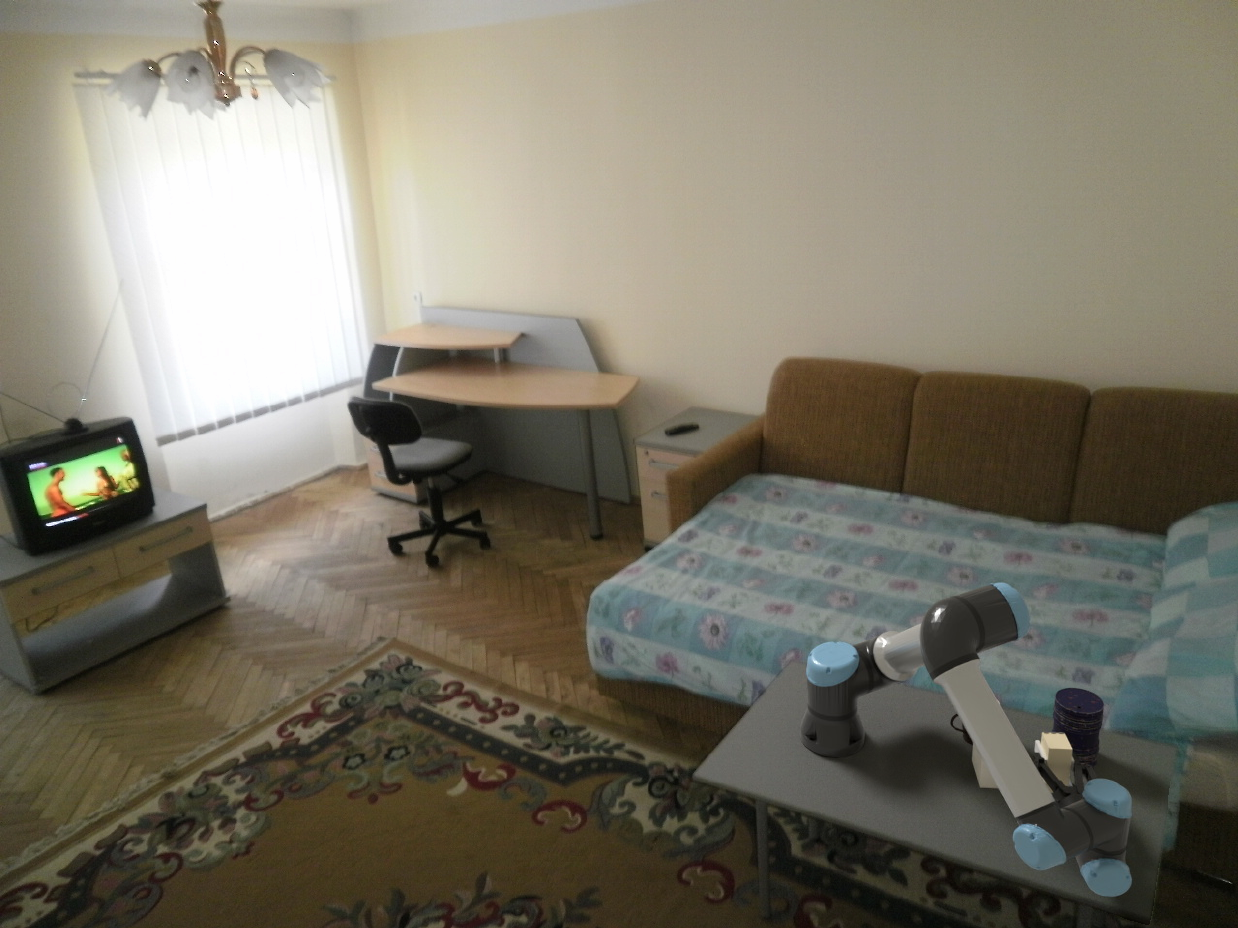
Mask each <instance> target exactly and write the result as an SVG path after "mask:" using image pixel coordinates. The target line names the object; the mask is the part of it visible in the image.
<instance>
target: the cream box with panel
mask: <svg viewBox="0 0 1238 928" xmlns="http://www.w3.org/2000/svg"><path fill="white" fill-rule="evenodd" d="M971 755H972V756H971V762H972V765H973V768H974V772H975V775H976V778H977V782H978V785H979V788H985V789H986V788H987V789H988V788H989V789H999V788H998V786H997V784H996V783H995V781H994V779H993V777H992V775H991V774H990V772H989V770H988V768H987V766H986V765H985V763H984V761H983V759H982V757H981V756H980V754H979V752H978V750H977V748H976V747H975V745H974V743H973V745H972V753H971Z"/></svg>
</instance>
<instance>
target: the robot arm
mask: <svg viewBox="0 0 1238 928" xmlns="http://www.w3.org/2000/svg"><path fill="white" fill-rule="evenodd" d="M1030 627H1031V614H1030V609H1029V608H1028V604H1027V603H1026V600H1025V599H1024V597H1023V596H1022V594H1020V592H1019V591H1018V590H1017V588H1014V587H1013V586H1012V585H1010V584H1008V583H1006V582H996V583H992V582H991V583H989V584H988V585H984V586H981V587H978V588H975V589H971V590H969V591H966V592H963V593H960V594H956V595H953V596H950V597H945V598H942V599H940V600H938V601H936V602H935V603H934V604H931V606H930V607H929V608H928V609H927V610H926V612H925V613H924V615H923V618H922V620H921V622H920V623H918V624H916V625H914V626H912V627H910V628H908V629H905V630H903V631H901V632H900V631H897V630H895V631H894V630H890V631H885V632H883V633H880V634H879V635H877V636H875V637H872V638H869V639H867V640H864V641H861V642H857V643H855V644H850V643H848V642H844V641H837V642H835V641H827V642H824V643H821V644H819V645H817V646H815V647H814V648H813V649H812V650H811V651H810V653H809V654H808V656H807V665H806V669H805V673H806V708H805V712H804V715H803V717H802V719H801V722H800V724H799V737H800V741H801V743H802V744H803V745H804V746H805V747H806V749H808V750H809V751H811V752H813V753H816V754H818V755H820V756H821V755H822V756H825V757H834V758H838V757H839V758H841V757H847V756H850V755H853V754H856V753H857V752H859V751H860V750H861V749H862V748H863V747H864V746H863V745H864V744H865V737H866V736H865V729H864V725H863V722H862V720H861V717H860V714H859V711H858V699H859V698H860V697H863V696H866V695H869V694H871V693H874V692H878V691H880V690H883V689H886V688H889V687H892V686H894V685H901V684H902V683H903V684H904V683H906V682H907V681H909V680H911V679H913V677H914V676H915V675H916V674H917V672H918V671H919V668H922V667H925V668H926V670H927V673H928V675H929V676H930V678H931V681H932V682H933V683H934V684H936V685H938V686H940V687H942V690H944V693H945V695H946V696H947V698H948V700H949V701H950V703H951V706H952V707H953V708H954V711H955V713H956V714H958V716H957V717H958V718H959V719H960V722H961V724H962V723H963V725H964V727H965V729H966V730H967V732H968V734H969V736H970V738H971V739H972V741H973V743H974V745H975V747H976V748H977V750H978V752H979V754H980V756H981V757H982V759H983V761H984V763H985V765H986V766H987V768H988V770H989V772H990V774H991V775H992V777H993V779H994V781H995V783H996V784H997V786H998V788H997V789H998V790H999V791H1000V794H1001V795H1002V796H1003V799H1004V800H1005V802H1006V804H1007V806H1008V807H1009V809H1010V811H1011V814H1012V815H1013V817H1014V819H1015V820H1016V822H1017V824H1018V827H1016V828H1015V829H1014V831H1013V834H1012V841H1013V843H1014V849H1015V851H1016V853H1017V855H1018V856H1019V857H1020V859H1021V860H1022V861H1023V862H1024V863H1025V864H1026V865H1027V866H1028V867H1030V868H1031V869H1034V870H1038V871H1046V870H1048V869H1051V868H1053V867H1056V866H1061V865H1064V863H1066V862H1067V861H1069V860H1071V859H1074V858H1075V861H1076V862H1077V864H1078V867H1079V870H1080V874H1081V876H1082V877H1083V879H1084V881H1085V883H1086V885H1087V886H1088V888H1089V889H1090V890H1091V891H1092V892H1094V893H1095V894H1096V895H1099V896H1102V897H1110V898H1113V897H1114V898H1115V897H1118V896H1121V895H1123V894H1125V893H1126V892H1127V891H1129V889H1130V888H1131V886H1132V881H1133V879H1132V878H1133V877H1132V874H1131V872H1130V867H1129V865H1127V862H1126V855H1127V854H1126V853H1127V848H1128V847H1127V845H1128V844H1127V843H1128V837H1129V831H1130V825H1131V820H1132V819H1131V818H1132V814H1133V813H1132V804H1133V803H1132V801H1133V800H1132V796H1131V793H1130V792H1129V790H1128V789H1127V788H1126V787H1124V786H1123V785H1120V783H1119V782H1116V781H1114V780H1111V779H1107V778H1098V775H1097V774H1096V772H1095V770H1094V768H1092V766H1091V765H1089V764H1086V765H1082V764H1081V763H1080V762H1079V760H1078V758H1077V756H1076V755H1075V754H1072V759H1071V769H1070V773H1072V772H1073V778H1074V785H1073V786H1065V785H1064V783H1063V782H1062V781H1061V780H1060V781H1059V780H1058V778H1057V777H1056V776H1055V774H1054V773H1053V772H1052V771H1051V769H1050V768H1049V767H1048V766H1047V758H1046V755H1045V753H1044V751H1043V748H1042V746H1041V740H1038V739H1037V740H1035V741H1034V753H1033V754H1034V755H1033V760H1032V758H1031V756H1030V754H1029V753H1028V751H1027V750H1026V748H1025V746H1024V744H1023V742H1022V740H1021V739H1020V737H1019V735H1018V734H1017V732H1016V731H1015V728H1014V726H1013V725H1012V722H1010V720H1009V718H1008V716H1007V714H1006V713H1005V712H1004V710H1003V708H1002V706H1001V703H1000V701H999V700H998V699H997V697H996V696H995V694H994V692H993V691H992V689H991V687H990V685H989V683H988V681H987V680H986V678H985V676H984V675H983V672H982V671H981V670H980V669H981V668H980V667H981V663H982V660H981V658H980V657H979V655H978V654H981V653H984V652H987V651H989V650H992V649H995V648H997V647H1000V646H1003V645H1005V644H1006V645H1007V644H1009V643H1011V642H1018V641H1019V640H1020V639H1022V638H1025V636H1027V634H1028V633H1029V631H1030ZM997 700H998V701H999V702H998V701H997ZM999 703H1000V704H999ZM1073 769H1074V770H1073ZM1083 776H1084V777H1085V778H1083ZM1042 778H1043V779H1044V780H1043V779H1042ZM1084 779H1085V780H1086V782H1087V783H1086V784H1085V786H1084ZM1044 781H1045V782H1046V783H1047V784H1048V786H1049V787H1050V788H1051V790H1052V791H1053V795H1052V794H1051V793H1050V791H1049V789H1048V787H1047V786H1046V784H1045V782H1044Z"/></svg>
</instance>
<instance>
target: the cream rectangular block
mask: <svg viewBox="0 0 1238 928" xmlns="http://www.w3.org/2000/svg"><path fill="white" fill-rule="evenodd" d="M1040 739H1041V740H1040V743H1041V746H1042V748H1043V751H1044V753H1045V755H1046V758H1047V766H1048V767H1049V768H1050V769H1051V771H1052V772H1053V773H1054V774H1055V776H1056V777H1057V778H1058V780H1059V781H1060V780H1061V781H1062V782H1063V783H1064V785H1065V786H1069V779H1070V776H1071V771H1070V769H1071V759H1072V747H1071V745H1070V743H1069V741H1068V739H1067V737H1066V735H1065V733H1063V732H1059V733H1056V732H1052V731H1051V732H1049V731H1042V732H1041V738H1040ZM1042 779H1043V778H1042ZM1043 780H1044V779H1043ZM1044 782H1045V781H1044ZM1045 784H1046V786H1047V787H1048V789H1049V791H1050V793H1053V791H1052V790H1051V788H1050V787H1049V786H1048V784H1047V783H1046V782H1045Z"/></svg>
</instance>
